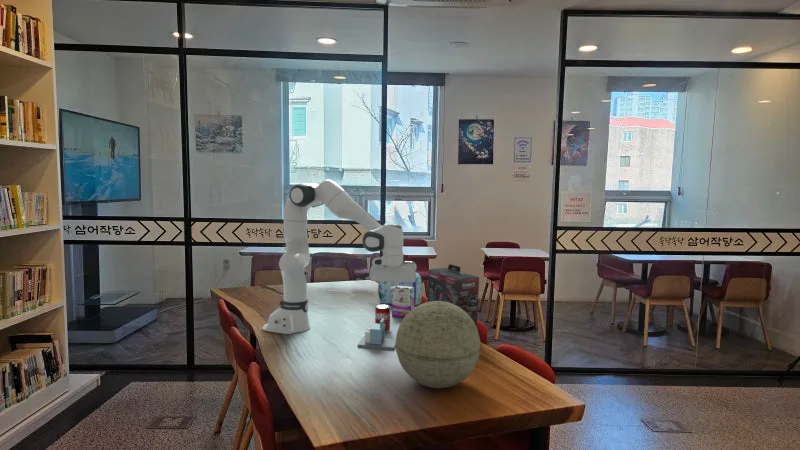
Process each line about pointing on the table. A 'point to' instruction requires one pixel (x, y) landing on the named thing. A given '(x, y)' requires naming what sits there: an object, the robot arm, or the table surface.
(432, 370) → the celestial globe
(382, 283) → the lunch box
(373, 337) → the cover
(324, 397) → the table surface
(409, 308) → the candy bar box
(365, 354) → the table surface
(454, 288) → the headset box
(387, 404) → the table surface
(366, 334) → the jaw
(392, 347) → the plate
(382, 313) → the soda can
